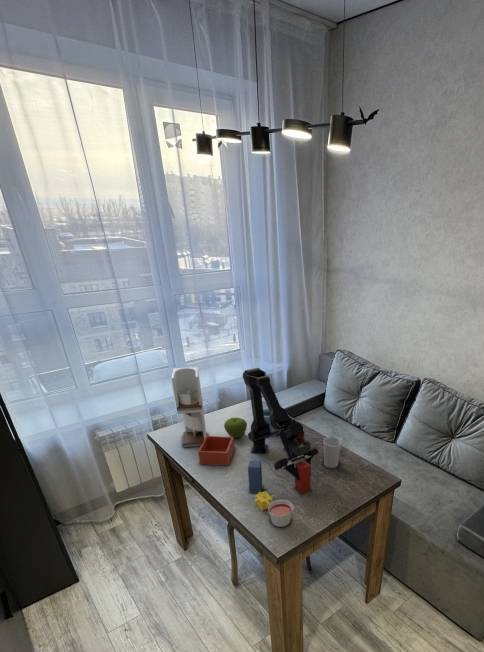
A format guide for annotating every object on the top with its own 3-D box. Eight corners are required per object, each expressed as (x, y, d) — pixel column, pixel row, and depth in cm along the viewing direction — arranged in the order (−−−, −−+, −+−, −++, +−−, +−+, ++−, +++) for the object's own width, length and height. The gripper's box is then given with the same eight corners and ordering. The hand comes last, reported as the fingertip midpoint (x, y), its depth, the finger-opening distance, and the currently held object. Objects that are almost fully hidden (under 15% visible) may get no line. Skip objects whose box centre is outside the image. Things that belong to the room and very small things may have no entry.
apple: (250, 432, 201) (249, 415, 196) (242, 443, 192) (240, 425, 187) (230, 429, 203) (229, 412, 197) (221, 439, 194) (219, 422, 189)
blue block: (251, 485, 164) (249, 460, 158) (262, 485, 164) (261, 461, 158) (249, 492, 160) (247, 467, 154) (260, 492, 160) (259, 467, 154)
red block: (295, 488, 164) (295, 463, 158) (304, 484, 166) (304, 459, 160) (301, 494, 161) (301, 468, 154) (310, 490, 163) (310, 465, 157)
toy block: (279, 508, 153) (278, 497, 150) (260, 515, 149) (259, 504, 146) (269, 496, 159) (269, 485, 156) (251, 503, 155) (250, 492, 152)
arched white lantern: (184, 435, 196) (173, 368, 178) (206, 433, 198) (197, 367, 181) (183, 447, 186) (171, 378, 169) (206, 445, 189) (197, 376, 171)
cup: (338, 470, 176) (339, 447, 170) (320, 467, 177) (321, 444, 171) (341, 460, 183) (343, 438, 177) (324, 457, 184) (325, 435, 178)
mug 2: (311, 449, 190) (312, 431, 185) (300, 455, 185) (300, 437, 180) (295, 441, 196) (295, 423, 190) (283, 447, 190) (283, 429, 185)
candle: (283, 532, 142) (283, 519, 139) (263, 522, 146) (263, 509, 143) (297, 518, 148) (298, 505, 145) (278, 509, 152) (278, 496, 149)
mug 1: (285, 436, 199) (285, 418, 194) (264, 440, 195) (263, 422, 190) (275, 422, 211) (274, 406, 205) (255, 426, 206) (254, 409, 201)
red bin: (207, 447, 187) (206, 435, 184) (234, 448, 188) (233, 436, 184) (199, 464, 176) (198, 451, 172) (228, 465, 176) (227, 452, 173)
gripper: (276, 443, 149) (293, 482, 148) (317, 430, 159) (332, 465, 158) (267, 451, 159) (282, 487, 157) (305, 438, 169) (320, 472, 167)
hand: (304, 478), depth 159 cm, fingers open, 5 cm apart
